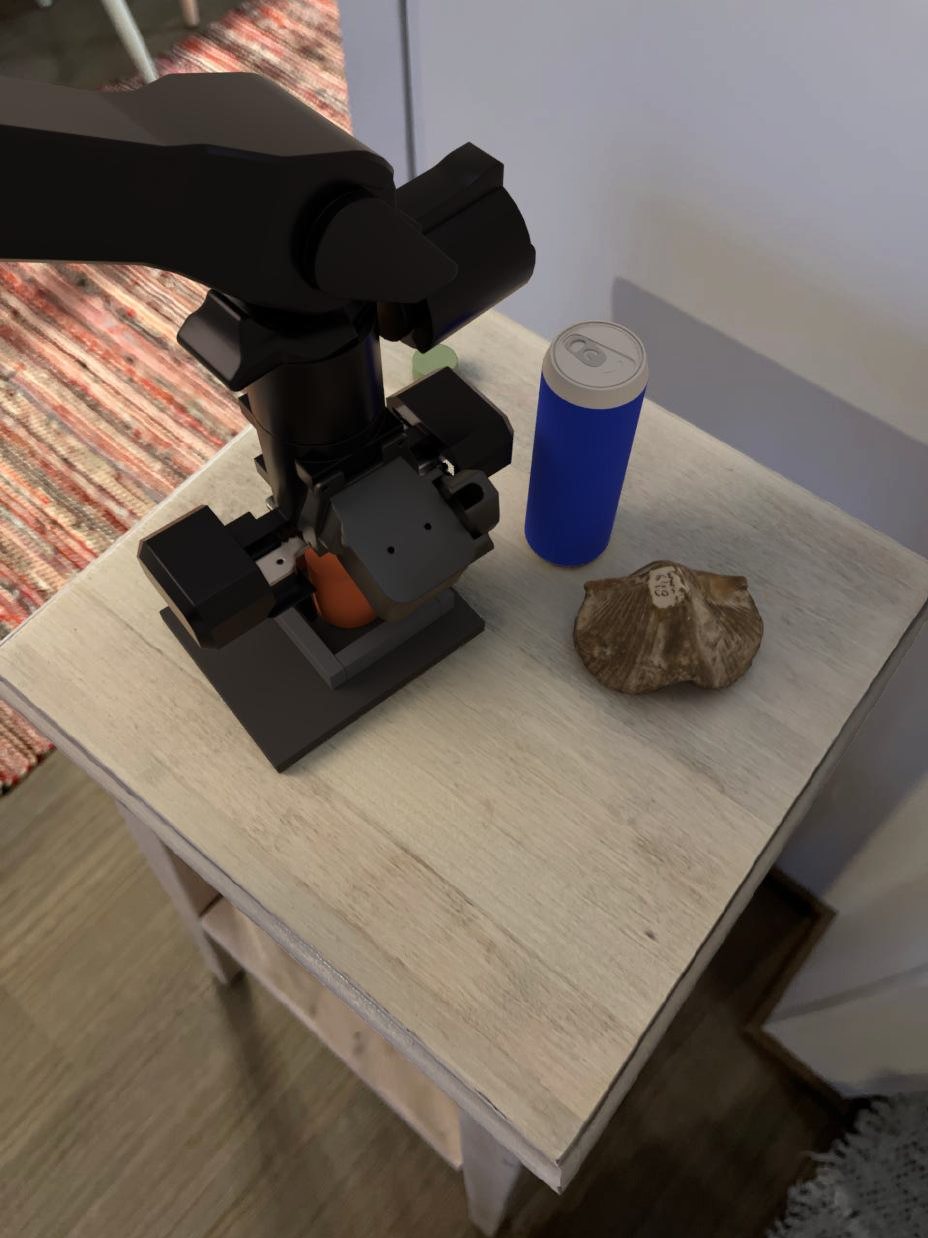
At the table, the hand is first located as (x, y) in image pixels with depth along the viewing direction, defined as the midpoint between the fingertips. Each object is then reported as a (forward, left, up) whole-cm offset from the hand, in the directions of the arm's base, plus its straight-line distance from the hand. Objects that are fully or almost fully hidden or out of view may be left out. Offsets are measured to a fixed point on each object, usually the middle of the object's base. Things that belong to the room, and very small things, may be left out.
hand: (349, 589), depth 56 cm
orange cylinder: (0, 0, -1) cm, 1 cm away
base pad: (-2, 0, -2) cm, 3 cm away
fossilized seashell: (+12, -13, -2) cm, 18 cm away
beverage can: (+13, -4, -2) cm, 14 cm away
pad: (+15, +11, -2) cm, 19 cm away
